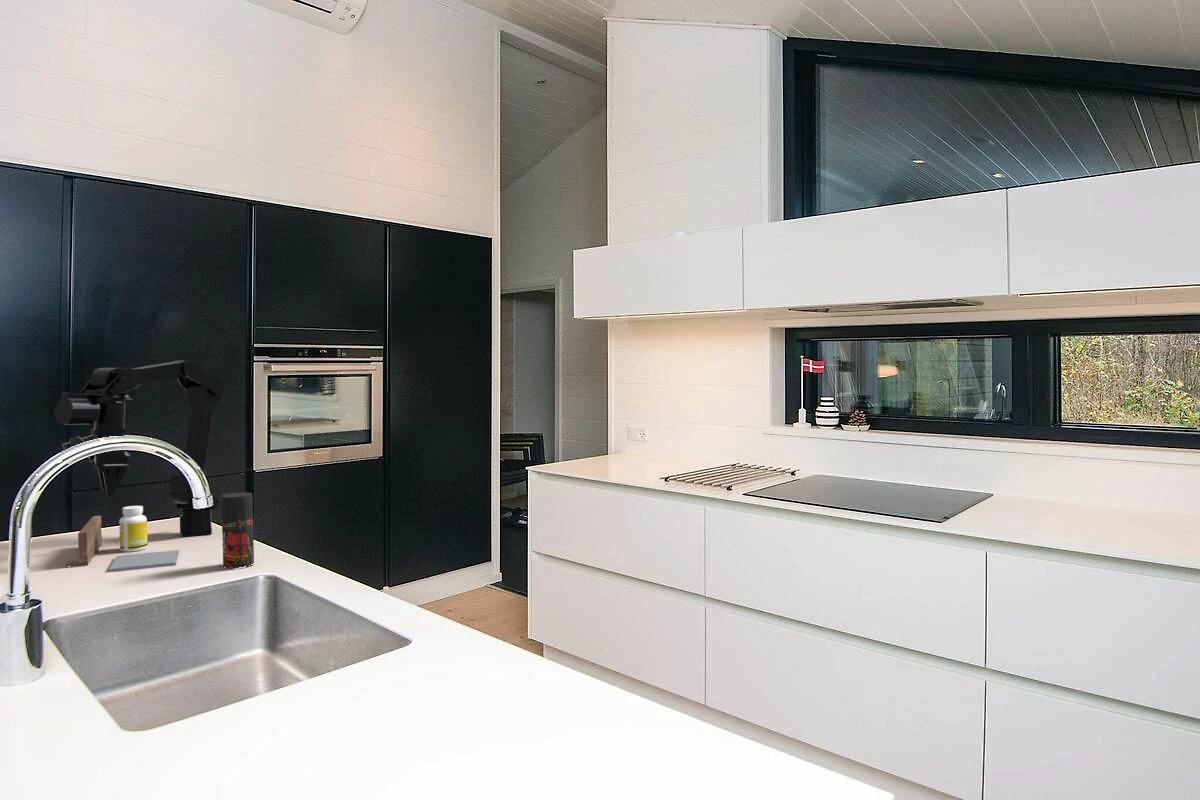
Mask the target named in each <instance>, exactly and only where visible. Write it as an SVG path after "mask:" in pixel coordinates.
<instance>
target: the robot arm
mask: <svg viewBox="0 0 1200 800" xmlns="http://www.w3.org/2000/svg"><path fill="white" fill-rule="evenodd" d="M173 379H176V380H177V382H178V384H179V385H180V386H181V387H182V388H183V390H186V393H187V394H186V400H187V403H188V405H189V408H190V410H191V412H190V419H189V424H188V430H187V437H186V442H185V447H184V448H185V449H184V450H185V451H184V454H185V453H187V454H188V455H189V456H190V457H192V458H193V459H194V460H195V461H196V462H197V463H198V464H199V466H200V467H201V468H202V470H203V471H204V473H205V475H206V476H207V475H208V474H207V473H206V470H205V467H206V462H207V455H208V448H209V441H210V438H211V437H210V436H211V430H212V424H213V423H212V422H213V418H214V414H215V412H216V411H217V409H218V408H219V406H220V405H221V404H222V402H223V400H224V396H225V393H226V392H225V391H226V386H225V384H224V382H223V380H221V378H219V377H216V376H214V375H213V374H212V373H210V372H208V371H206V370H205V369H203V368H201V367H199V366H198V365H197V364H195V363H194V362H192V361H191V360H183V359H182V360H177V359H176V360H173V361H170V362H165V363H164V362H163V363H159V364H151V365H146V366H140V367H139V366H138V367H134V368H133V367H131V368H130V367H99V368H95V369H94V370H93V371H92V373H91V375H90V378H89V380H88V381H87V383H86V384H85V385H84V386H83V387H82V389H81V390H80V391H79V393H77V392H61V398H60V399H59V400H57V403H56V405H55V407H54V410H53V411H54V412H53V413H54V418H55V420H56V422H57V423H58V424H60V425H62V426H65V425H67V426H68V425H70V426H71V425H74V426H75V425H78V426H79V425H92V424H93V423H94V424H93V429H91V434H90V435H87V436H84V437H81V436H78V435H77V436H76V437H72V438H70V439H69V441H67V442H65V443H62V444H61V445H62V448H63V450H64V451H65V450H66V449H68V448H70V447H72V446H75V445H77V444H80V443H83V442H86V441H89V440H93V439H97V438H102V437H109V436H124V437H125V434H127V433H126V431H127V430H126V428H125V424H126V423H125V422H126V421H125V419H126V405H134V404H135V400H134V399H133V398H131V397H130V396H129V394H128V393H127V392H130V391H132V390H135V389H136V388H138V387H139V386H142V385H144V384H145V385H146V384H150V383H155V382H161V381H162V382H163V381H167V380H173ZM117 394H118V395H117ZM100 398H101V400H100ZM88 460H89V463H91V464H92V465H93V466H94V467H95V468H97V471H98V476H99V481H100V483H101V484H100V485H101V490H102V492H103V493H106V496H107V497H110V498H111V497H114V496H115V494H116V491H117V490H118V487H119V486H120V484H121V481H122V479H123V477H124V476H125V474H126V471H127V470H128V468H129V466H130V464H131V454H130V453H129V452H127V451H126V450H125V451H114V452H108V453H102V454H98V455H94V456H91V457H89V456H88ZM207 477H208V476H207ZM169 481H170V482H169V487H168V489H167V491H169V497H170V499H171V500H172V502H173V503H174V506H175V509H176V510H181V515H180V516H179V532H180V533H179V534H181V537H194V536H202V535H205V536H206V535H212V533H213V527H212V510H215V509H217V507H218V505H219V499H218V498H217V497H216V496H215V495H213V498H214V506H213V507H212V508H210V509H205V510H195V509H193V507H192V497H191V493H190V489H189V486H188V484H187V482H186V480H185V478H184V477H183V476H182V474H181V473H180V472H179V471H178V472H177V473H171V475H170V480H169Z"/></svg>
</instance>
